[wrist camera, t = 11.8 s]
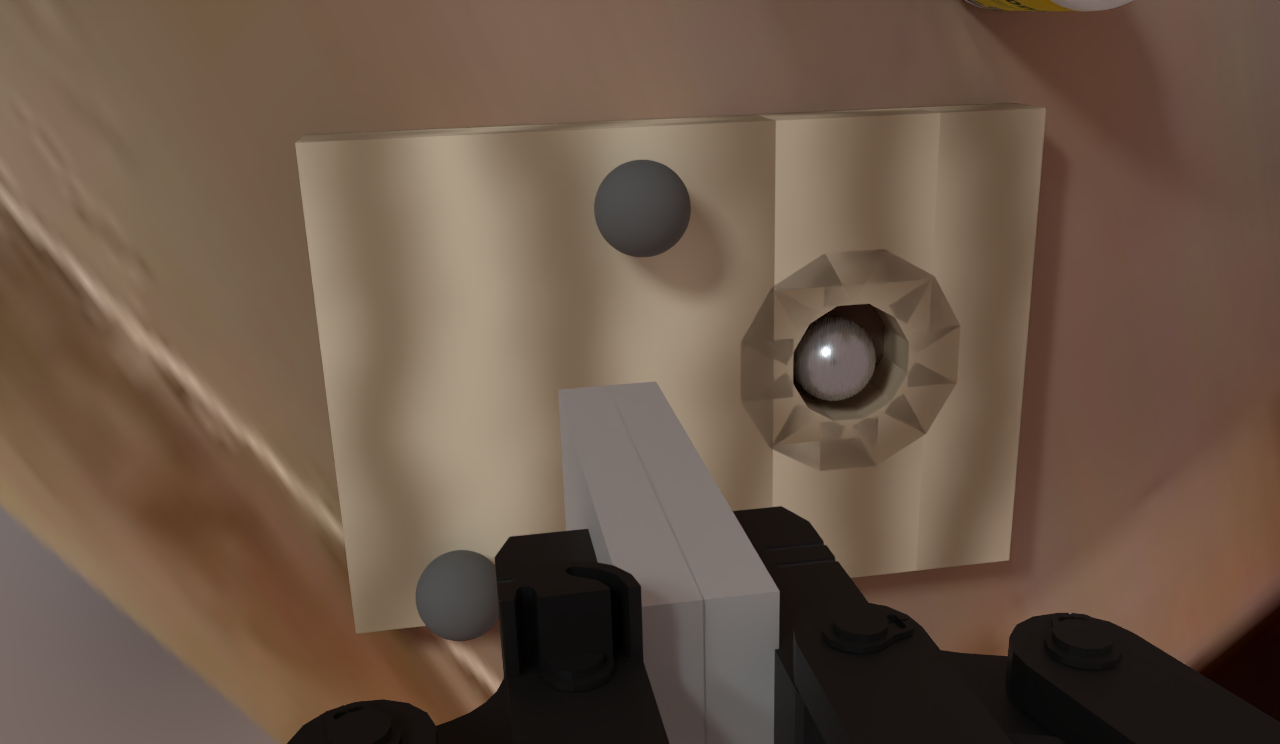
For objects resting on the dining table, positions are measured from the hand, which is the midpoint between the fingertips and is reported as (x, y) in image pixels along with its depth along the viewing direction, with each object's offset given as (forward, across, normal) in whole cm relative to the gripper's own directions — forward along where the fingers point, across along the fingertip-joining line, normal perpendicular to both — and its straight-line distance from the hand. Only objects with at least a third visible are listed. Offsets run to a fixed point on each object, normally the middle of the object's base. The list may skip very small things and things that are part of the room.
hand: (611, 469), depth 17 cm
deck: (+24, +6, -6) cm, 26 cm away
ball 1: (+20, -3, -13) cm, 24 cm away
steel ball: (+23, +12, -6) cm, 26 cm away
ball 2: (+20, +4, 0) cm, 21 cm away
